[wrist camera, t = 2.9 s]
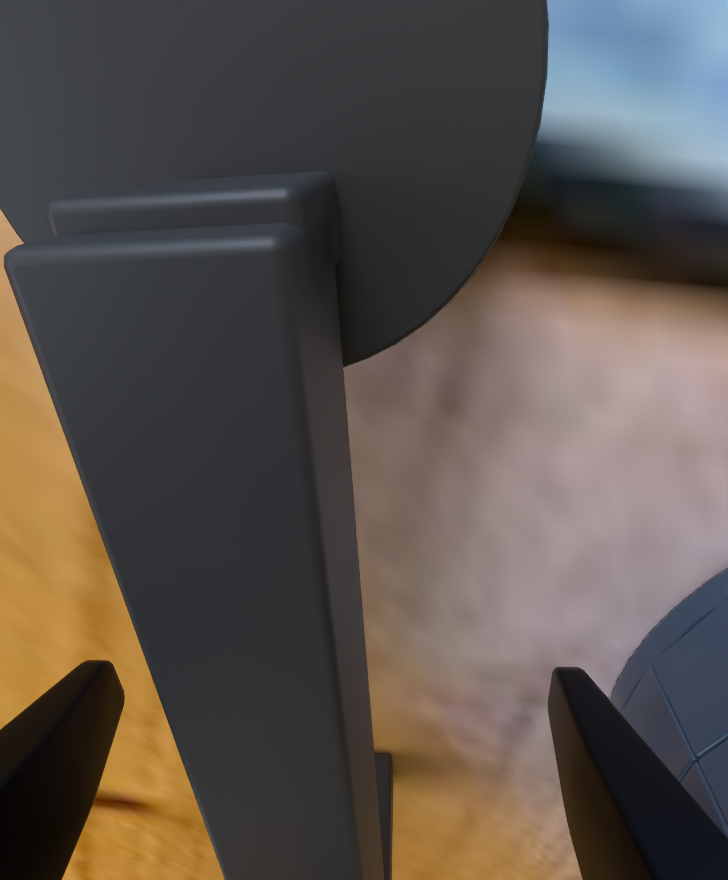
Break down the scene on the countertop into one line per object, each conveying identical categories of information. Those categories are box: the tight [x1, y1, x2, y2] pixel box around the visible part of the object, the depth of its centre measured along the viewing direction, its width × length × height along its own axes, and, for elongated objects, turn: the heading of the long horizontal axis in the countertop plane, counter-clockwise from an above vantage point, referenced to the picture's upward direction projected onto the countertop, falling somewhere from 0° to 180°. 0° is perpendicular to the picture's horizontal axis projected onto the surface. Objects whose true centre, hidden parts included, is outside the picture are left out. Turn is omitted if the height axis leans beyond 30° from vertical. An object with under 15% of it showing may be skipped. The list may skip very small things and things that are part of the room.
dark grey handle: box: [0, 0, 549, 880], centre depth 8 cm, size 18×5×6 cm, turn 3°
